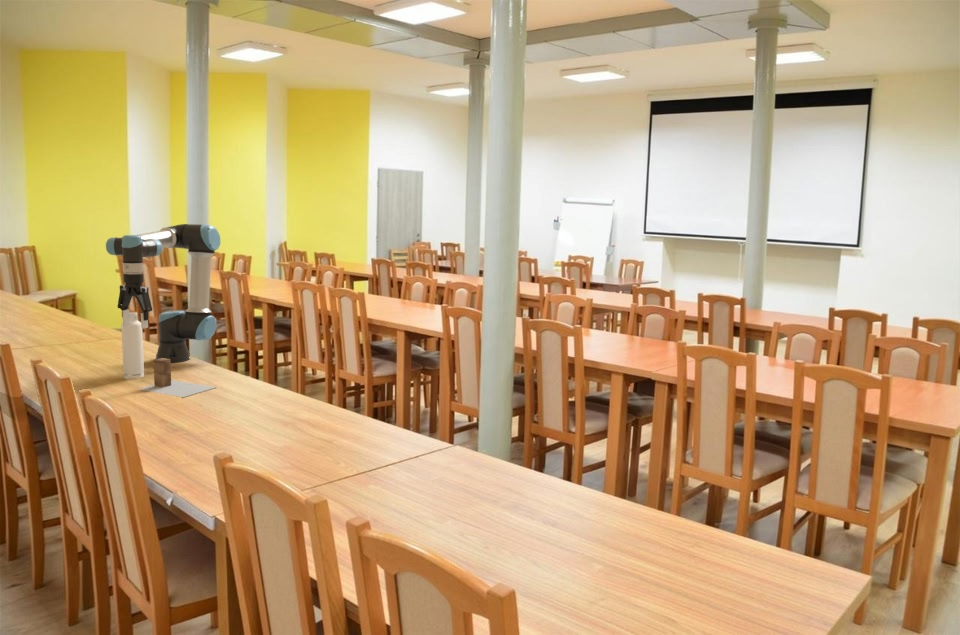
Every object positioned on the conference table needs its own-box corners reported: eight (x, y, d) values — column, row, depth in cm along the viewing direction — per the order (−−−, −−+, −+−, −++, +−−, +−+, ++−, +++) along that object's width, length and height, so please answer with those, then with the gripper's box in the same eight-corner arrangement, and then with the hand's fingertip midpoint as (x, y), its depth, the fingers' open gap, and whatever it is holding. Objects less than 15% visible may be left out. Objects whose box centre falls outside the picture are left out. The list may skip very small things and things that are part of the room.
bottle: (138, 379, 320) (136, 314, 316) (120, 379, 320) (117, 314, 316) (147, 375, 328) (145, 311, 324) (129, 374, 328) (126, 311, 324)
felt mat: (172, 380, 320) (172, 380, 320) (216, 388, 310) (216, 387, 310) (137, 390, 304) (137, 389, 303) (182, 398, 294) (182, 397, 294)
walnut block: (163, 383, 313) (162, 357, 311) (171, 385, 311) (170, 359, 309) (154, 386, 309) (153, 359, 307) (162, 387, 307) (161, 361, 305)
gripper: (106, 271, 310) (108, 325, 313) (145, 275, 301) (148, 330, 304) (121, 270, 316) (123, 323, 320) (160, 274, 307) (162, 328, 311)
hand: (135, 326), depth 312 cm, fingers open, 10 cm apart
